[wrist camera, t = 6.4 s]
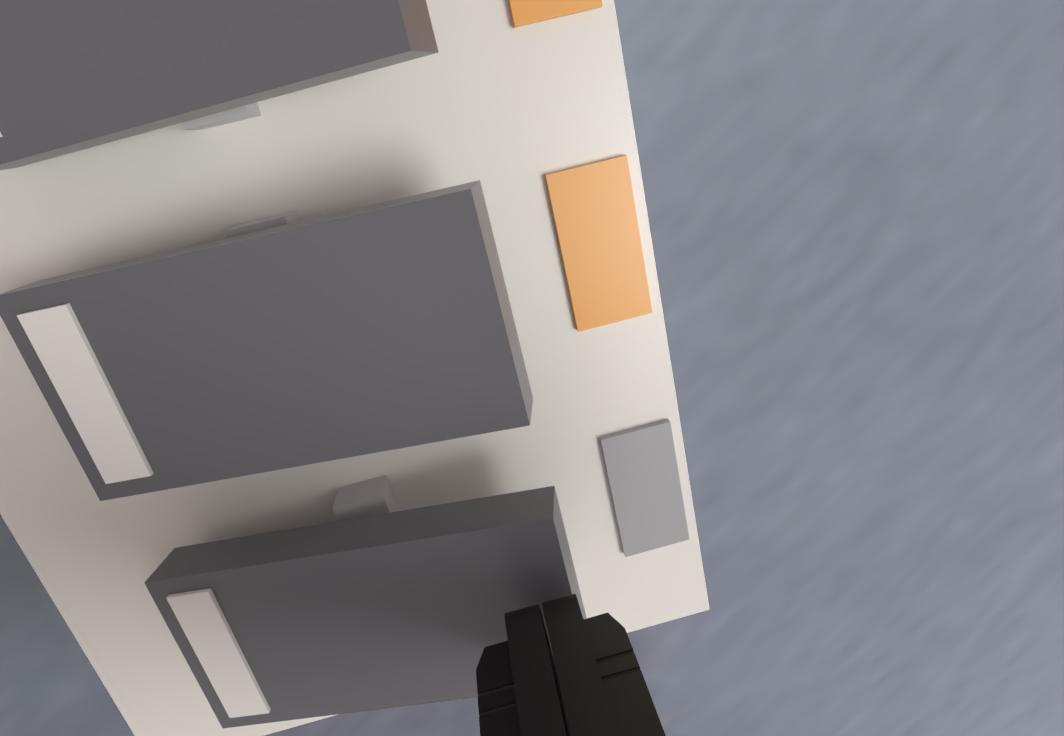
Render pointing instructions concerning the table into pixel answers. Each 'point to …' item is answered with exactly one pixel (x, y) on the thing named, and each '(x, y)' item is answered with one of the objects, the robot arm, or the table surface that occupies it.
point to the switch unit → (343, 184)
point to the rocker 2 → (279, 346)
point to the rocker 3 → (361, 605)
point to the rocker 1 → (178, 61)
